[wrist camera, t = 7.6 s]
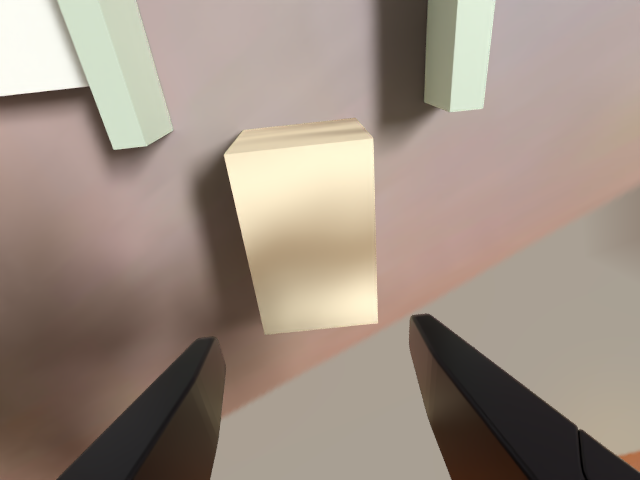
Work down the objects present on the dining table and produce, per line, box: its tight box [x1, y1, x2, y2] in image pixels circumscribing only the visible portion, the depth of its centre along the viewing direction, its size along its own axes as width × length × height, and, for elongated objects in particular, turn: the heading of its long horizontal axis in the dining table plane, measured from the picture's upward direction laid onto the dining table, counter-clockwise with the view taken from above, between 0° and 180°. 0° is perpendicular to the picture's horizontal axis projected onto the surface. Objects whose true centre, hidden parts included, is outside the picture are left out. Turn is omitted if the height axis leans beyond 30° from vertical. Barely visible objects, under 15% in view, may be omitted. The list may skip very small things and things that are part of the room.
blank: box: [224, 118, 378, 335], centre depth 15 cm, size 8×5×4 cm, turn 6°
